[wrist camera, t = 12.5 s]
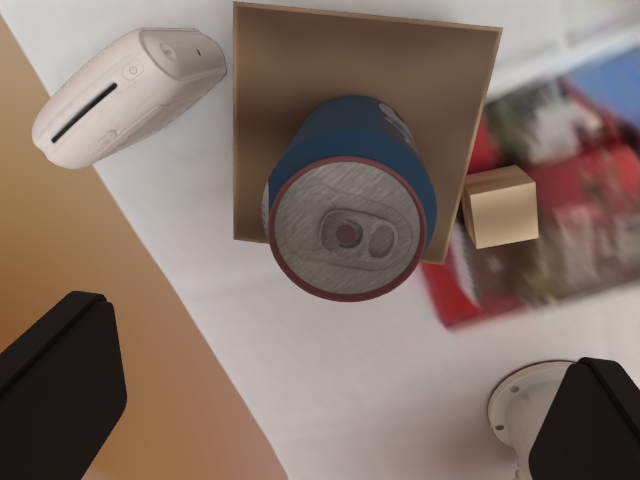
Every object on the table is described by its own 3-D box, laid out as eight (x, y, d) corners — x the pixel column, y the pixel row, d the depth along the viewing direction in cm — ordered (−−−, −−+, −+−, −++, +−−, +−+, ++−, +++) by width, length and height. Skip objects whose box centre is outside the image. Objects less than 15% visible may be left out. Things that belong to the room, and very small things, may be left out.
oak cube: (519, 214, 36) (538, 237, 32) (464, 225, 37) (476, 249, 33) (515, 164, 35) (535, 182, 31) (458, 176, 36) (470, 195, 31)
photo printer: (202, 19, 32) (116, 13, 21) (238, 70, 33) (176, 90, 22) (110, 99, 35) (-6, 131, 24) (146, 142, 37) (52, 192, 26)
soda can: (287, 190, 28) (239, 292, 17) (310, 79, 25) (267, 117, 14) (392, 216, 28) (409, 333, 17) (427, 108, 25) (475, 168, 14)
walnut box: (426, 213, 37) (443, 265, 29) (261, 194, 38) (233, 239, 30) (466, 28, 31) (503, 27, 23) (267, 8, 31) (233, 1, 23)
